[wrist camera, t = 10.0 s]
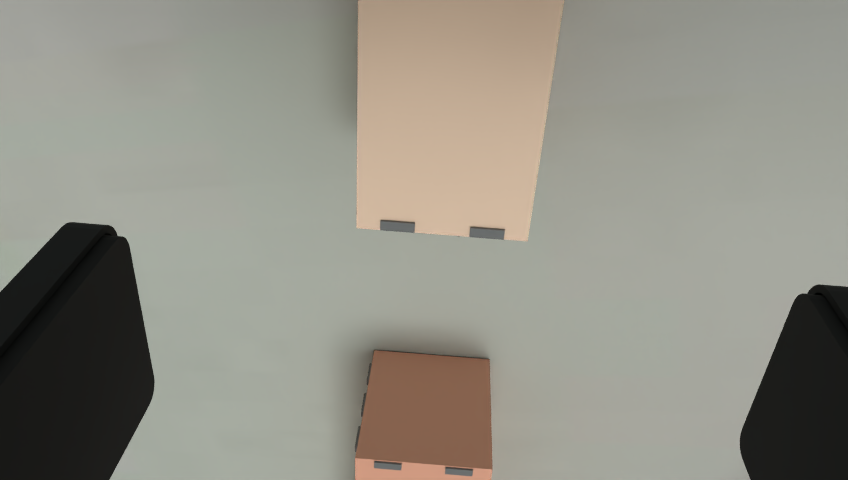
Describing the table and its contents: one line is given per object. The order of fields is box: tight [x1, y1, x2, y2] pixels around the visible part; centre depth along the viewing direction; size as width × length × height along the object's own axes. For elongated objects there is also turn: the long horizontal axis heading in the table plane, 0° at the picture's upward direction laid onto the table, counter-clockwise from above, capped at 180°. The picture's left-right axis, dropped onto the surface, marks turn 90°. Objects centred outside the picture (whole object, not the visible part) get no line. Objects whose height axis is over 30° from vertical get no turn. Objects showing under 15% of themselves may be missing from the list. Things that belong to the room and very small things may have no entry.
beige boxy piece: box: [357, 0, 564, 241], centre depth 22 cm, size 7×5×6 cm
